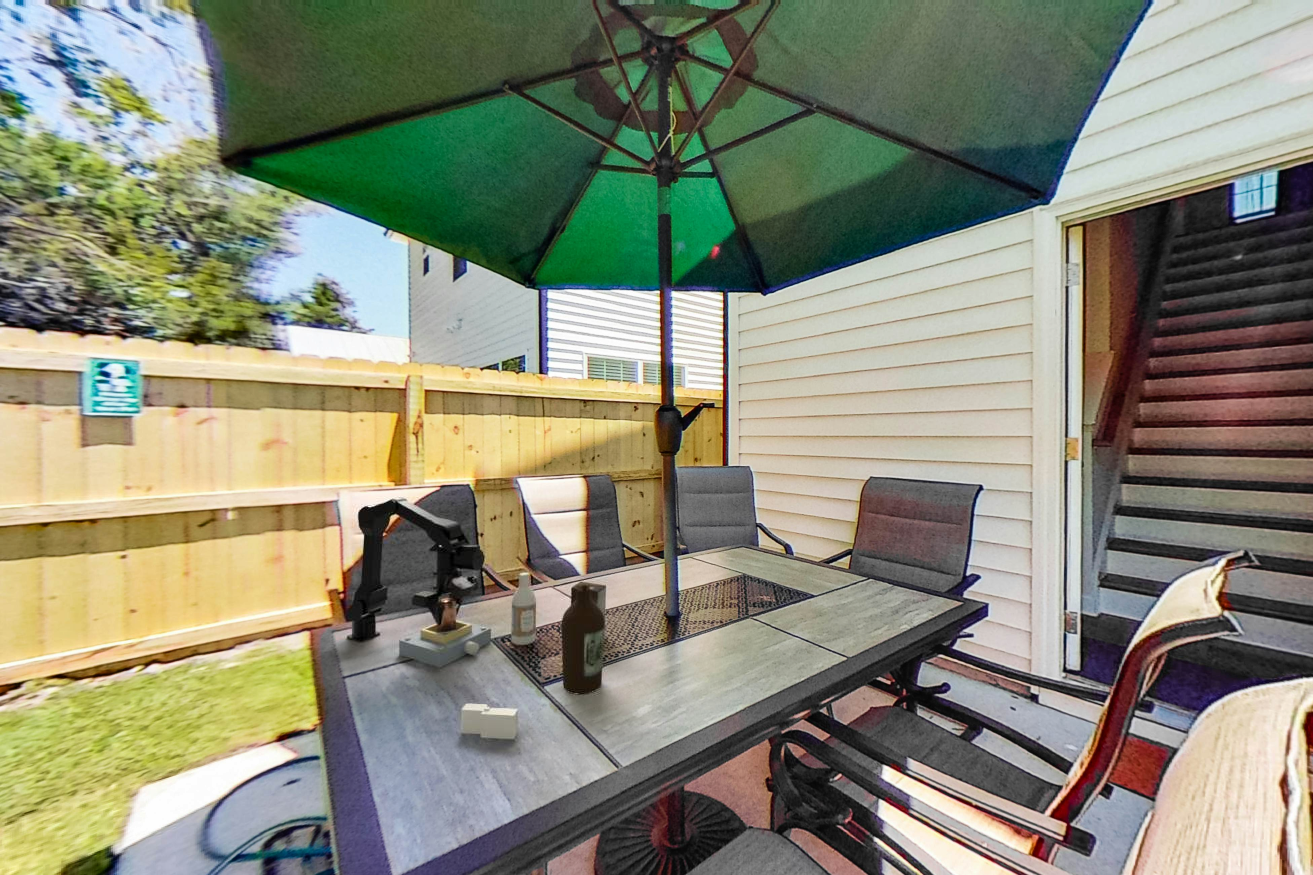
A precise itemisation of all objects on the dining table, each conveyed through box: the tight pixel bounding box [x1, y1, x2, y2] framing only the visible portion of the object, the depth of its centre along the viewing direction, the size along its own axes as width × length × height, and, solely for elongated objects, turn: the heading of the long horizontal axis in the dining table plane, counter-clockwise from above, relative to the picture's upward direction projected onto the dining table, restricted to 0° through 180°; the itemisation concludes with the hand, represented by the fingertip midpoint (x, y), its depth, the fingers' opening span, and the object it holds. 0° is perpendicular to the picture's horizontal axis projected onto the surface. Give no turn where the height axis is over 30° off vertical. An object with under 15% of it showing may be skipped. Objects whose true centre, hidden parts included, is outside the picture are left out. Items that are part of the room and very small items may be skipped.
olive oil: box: [560, 581, 606, 695], centre depth 122 cm, size 11×11×25 cm
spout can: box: [437, 597, 459, 632], centre depth 141 cm, size 7×5×8 cm
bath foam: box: [510, 572, 537, 646], centre depth 147 cm, size 7×7×20 cm
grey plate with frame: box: [398, 619, 492, 668], centre depth 141 cm, size 19×18×6 cm
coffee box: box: [570, 581, 607, 638], centre depth 149 cm, size 9×6×16 cm
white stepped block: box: [460, 703, 519, 740], centre depth 103 cm, size 15×11×6 cm
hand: (446, 621), depth 142 cm, fingers closed on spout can, 5 cm apart
